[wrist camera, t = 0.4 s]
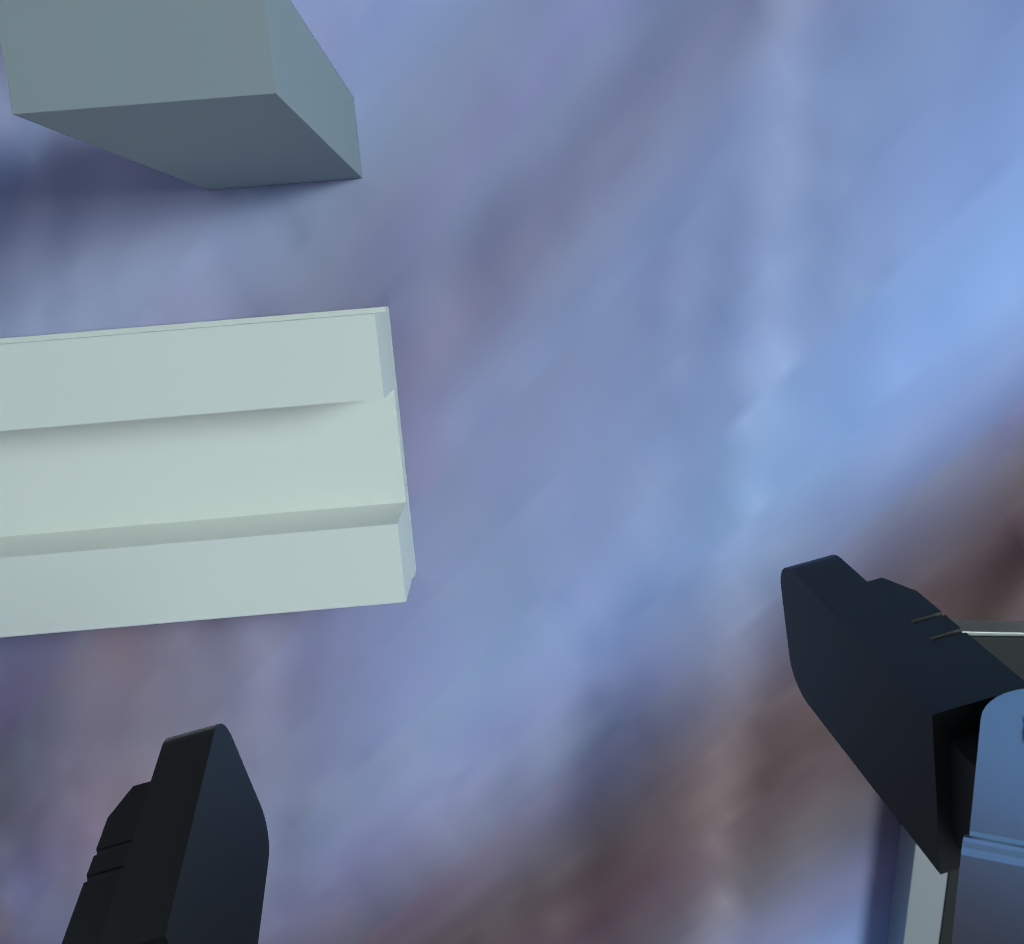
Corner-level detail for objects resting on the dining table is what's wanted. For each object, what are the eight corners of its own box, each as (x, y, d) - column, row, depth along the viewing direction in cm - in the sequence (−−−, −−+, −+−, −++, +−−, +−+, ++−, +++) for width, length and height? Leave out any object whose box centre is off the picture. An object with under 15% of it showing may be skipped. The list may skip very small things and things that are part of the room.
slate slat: (197, 109, 35) (-13, -28, 20) (353, 96, 35) (258, -49, 20) (208, 190, 36) (12, 113, 21) (361, 177, 36) (275, 93, 21)
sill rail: (-63, 343, 36) (-145, 350, 32) (388, 306, 37) (374, 307, 32) (-11, 606, 38) (-80, 649, 34) (416, 569, 39) (406, 607, 34)
